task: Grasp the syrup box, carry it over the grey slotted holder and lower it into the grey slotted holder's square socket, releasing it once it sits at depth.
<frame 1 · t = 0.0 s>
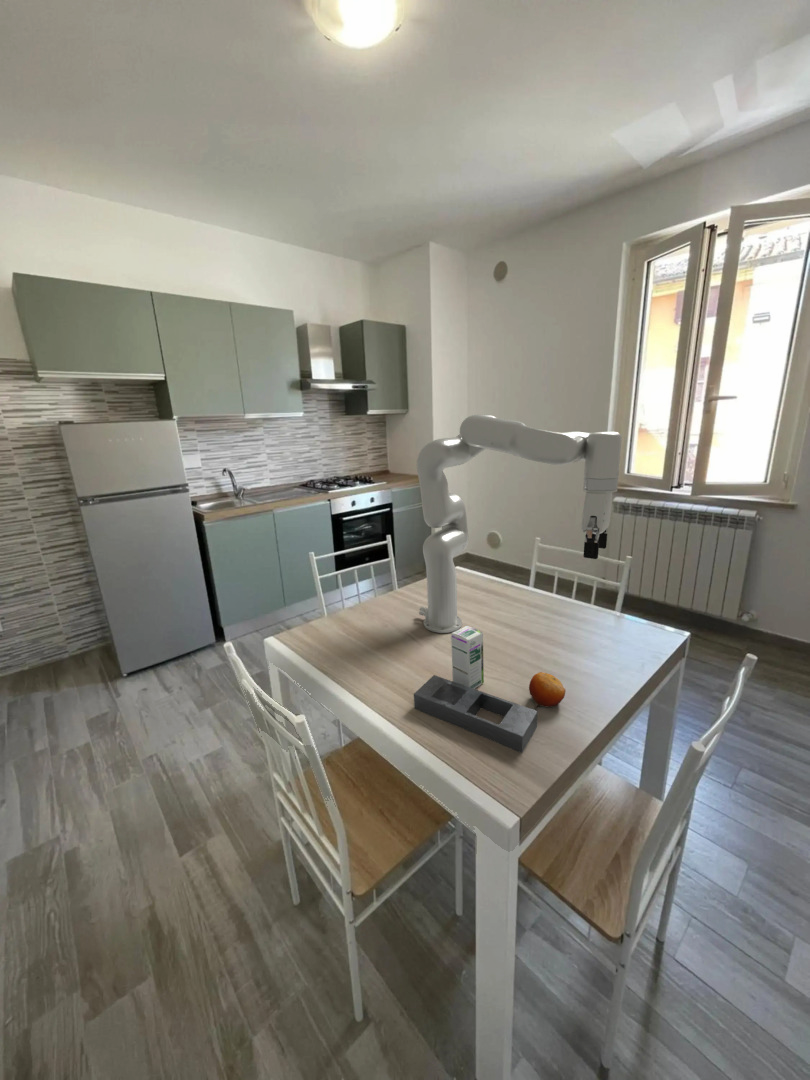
hand: (595, 552, 106), 31 cm above the table, tool pointing down, fingers open, 9 cm apart
fruit: (546, 702, 100), on the table
grey slotted holder: (473, 717, 96), on the table
syrup box: (467, 684, 108), on the table
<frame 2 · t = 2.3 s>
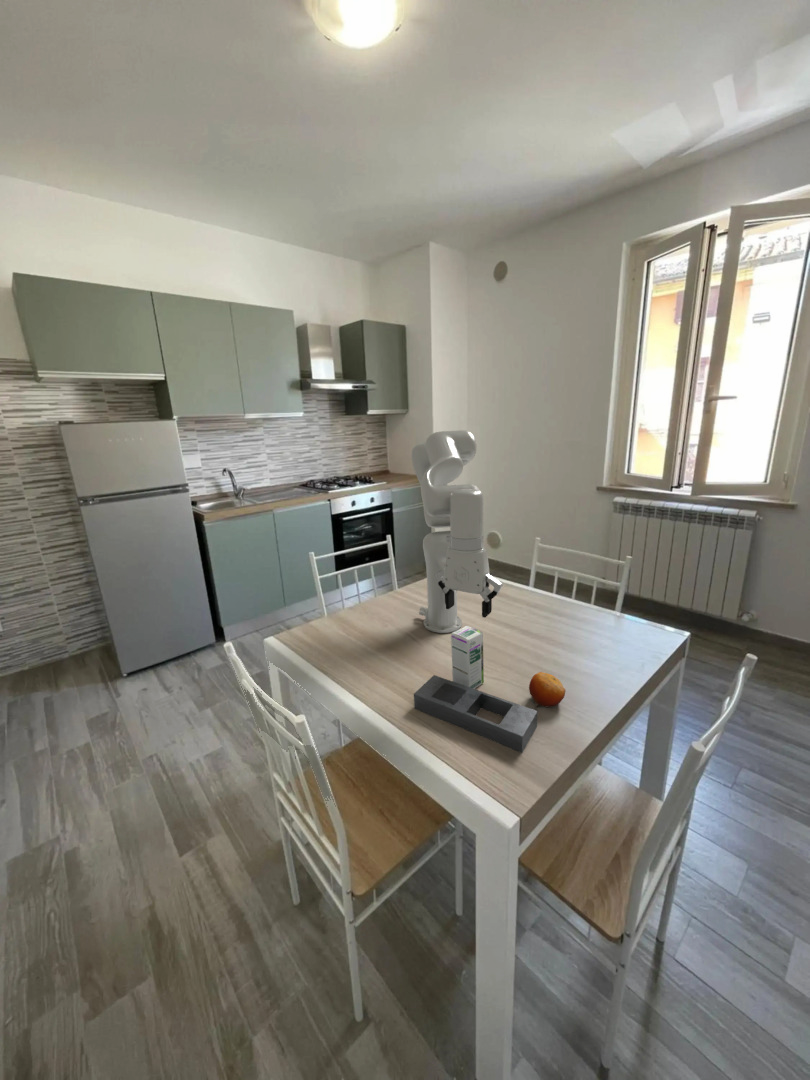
hand: (467, 611, 102), 20 cm above the table, tool pointing down, fingers open, 9 cm apart
nothing on the table moved.
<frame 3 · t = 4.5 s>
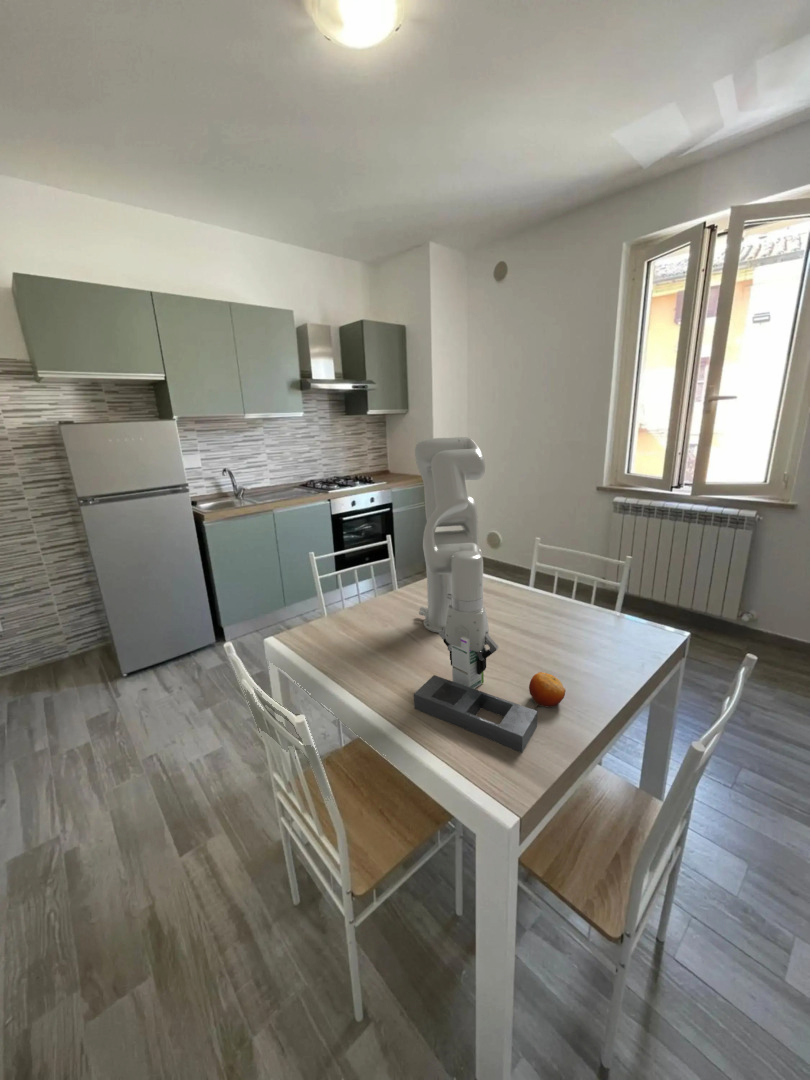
hand: (467, 666, 107), 5 cm above the table, tool pointing down, fingers closed on syrup box, 6 cm apart
syrup box: (467, 683, 108), on the table, touching gripper
everything else where it was.
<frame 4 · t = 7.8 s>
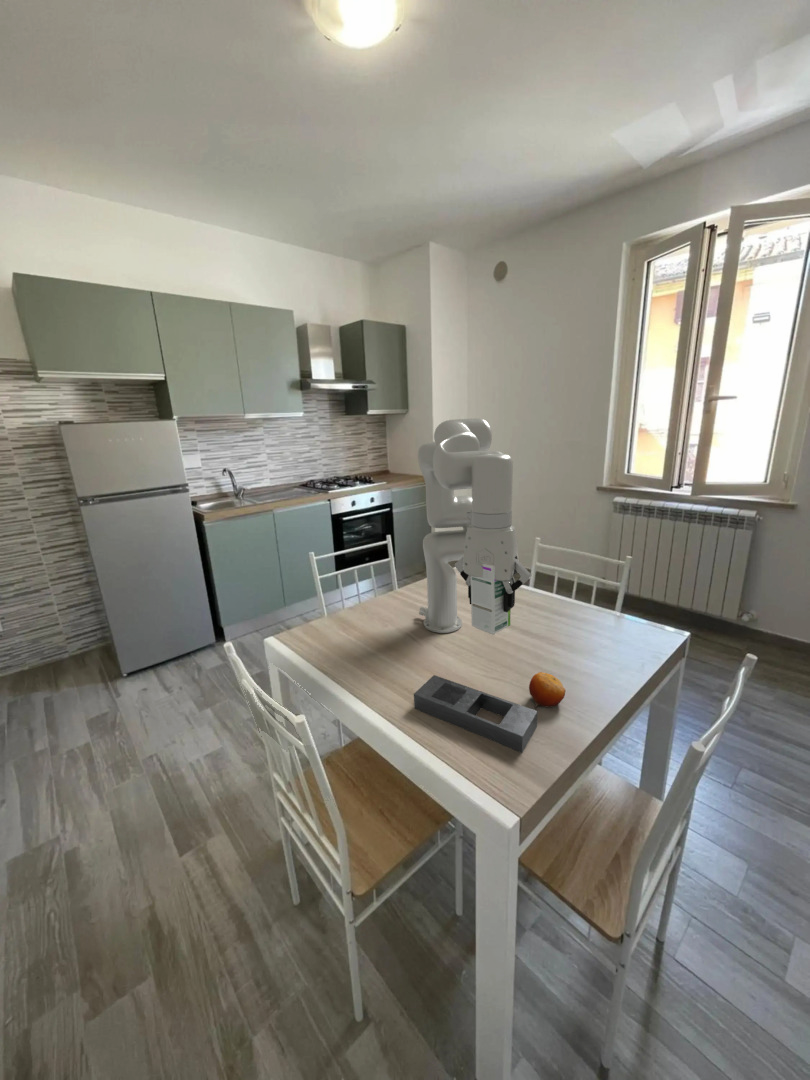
hand: (490, 605, 86), 28 cm above the table, tool pointing down, fingers closed on syrup box, 6 cm apart
syrup box: (490, 627, 87), point 24 cm above the table, touching gripper
everything else where it was.
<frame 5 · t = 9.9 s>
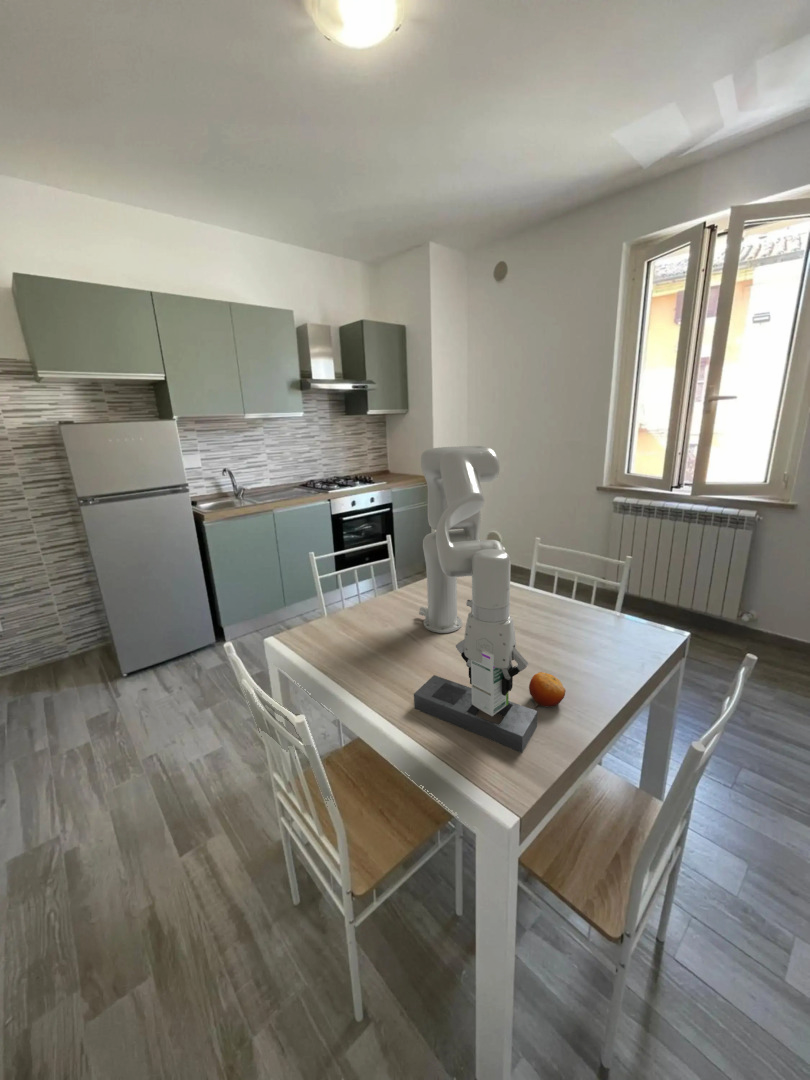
hand: (490, 685, 91), 10 cm above the table, tool pointing down, fingers closed on syrup box, 6 cm apart
syrup box: (489, 705, 92), point 5 cm above the table, touching gripper
everything else where it was.
when the fingers open (6 cm above the table, at t = 11.5 s): syrup box drops 1 cm, resting in grey slotted holder.
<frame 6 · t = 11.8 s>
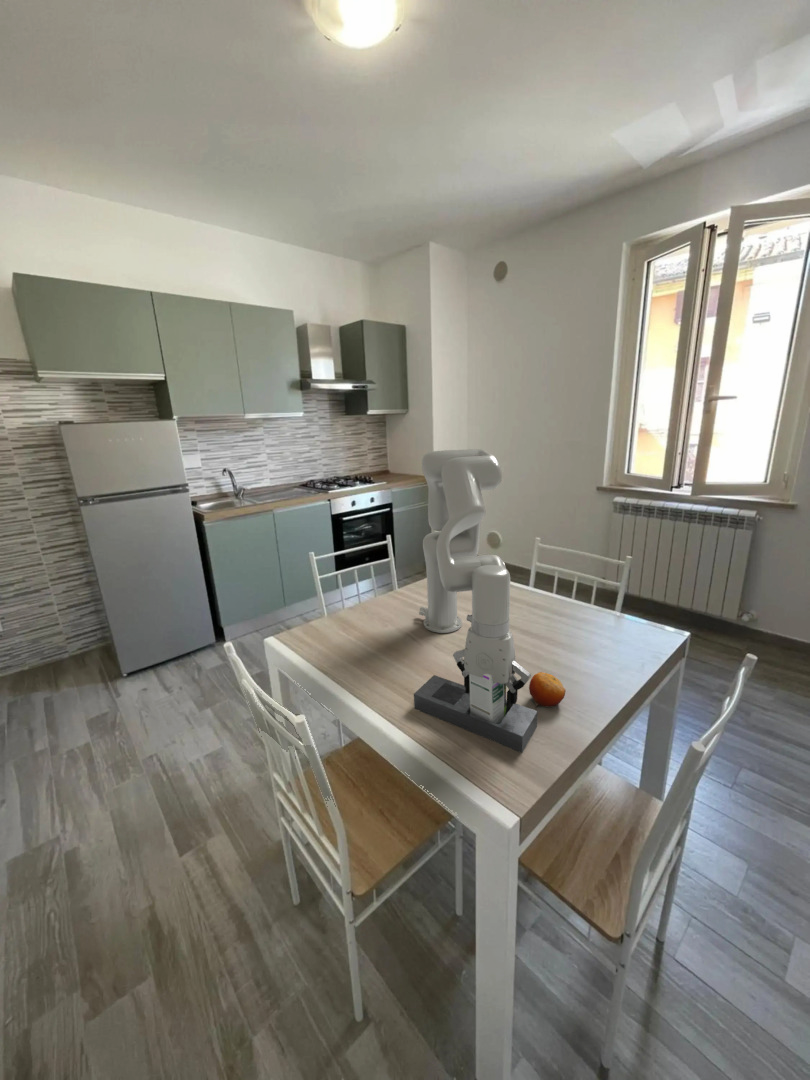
hand: (489, 697, 92), 7 cm above the table, tool pointing down, fingers open, 9 cm apart
syrup box: (487, 723, 94), resting in grey slotted holder
everything else where it was.
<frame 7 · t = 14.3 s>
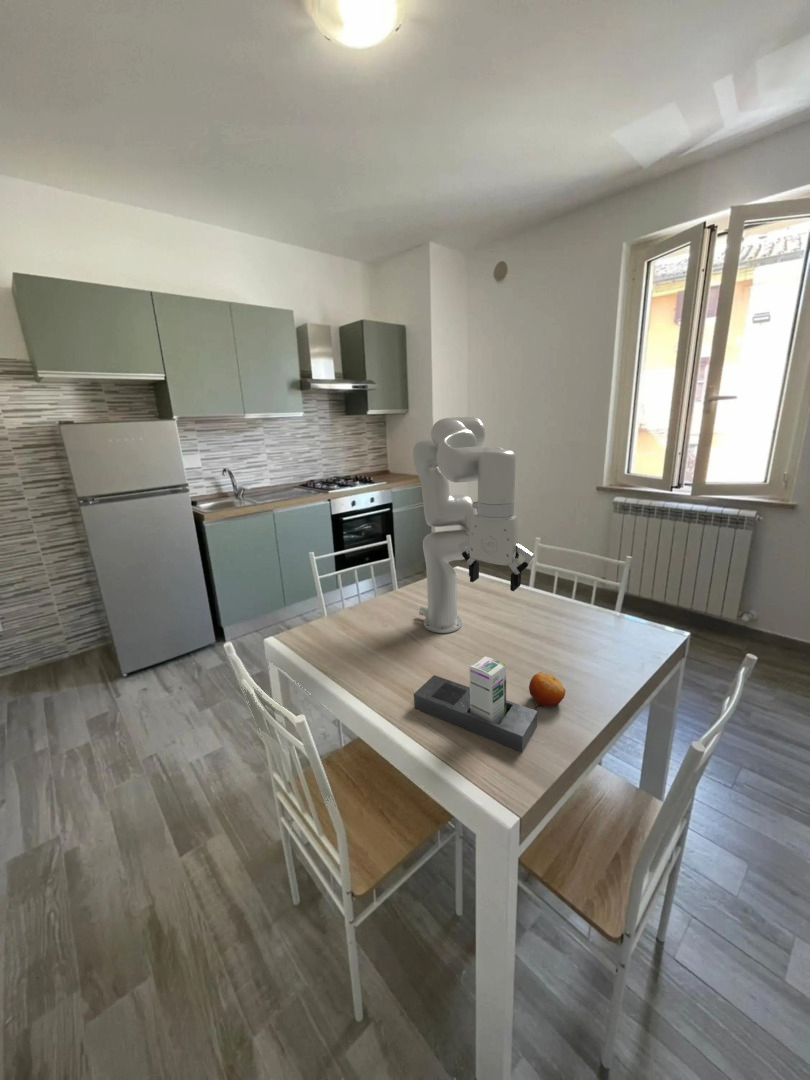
hand: (493, 584, 94), 29 cm above the table, tool pointing down, fingers open, 9 cm apart
nothing on the table moved.
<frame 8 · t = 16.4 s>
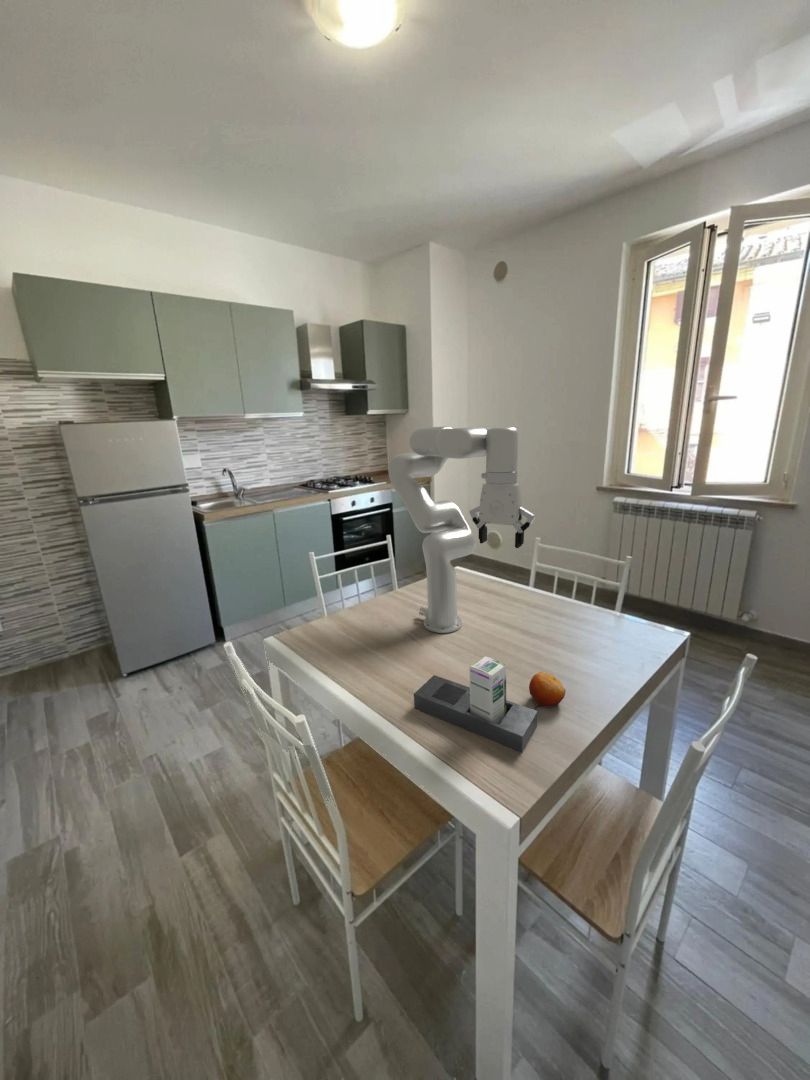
hand: (500, 544, 110), 33 cm above the table, tool pointing down, fingers open, 9 cm apart
nothing on the table moved.
at the end: syrup box 0.5 cm from the target spot on the grey slotted holder, point 0.0 cm above the grey slotted holder's base; syrup box tilted 0°; the gripper is holding nothing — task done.
